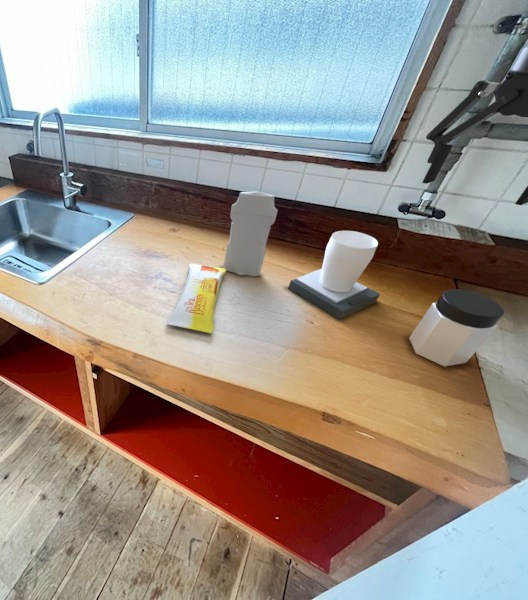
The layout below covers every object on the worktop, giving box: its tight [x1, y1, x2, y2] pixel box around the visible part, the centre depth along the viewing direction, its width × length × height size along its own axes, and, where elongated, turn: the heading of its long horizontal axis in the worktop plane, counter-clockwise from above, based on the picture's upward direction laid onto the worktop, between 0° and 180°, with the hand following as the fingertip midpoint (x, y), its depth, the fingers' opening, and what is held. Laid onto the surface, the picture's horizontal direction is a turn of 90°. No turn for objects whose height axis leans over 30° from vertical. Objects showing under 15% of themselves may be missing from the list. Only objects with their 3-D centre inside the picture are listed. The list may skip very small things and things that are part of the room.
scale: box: [288, 268, 381, 320], centre depth 78 cm, size 14×13×3 cm
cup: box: [320, 230, 379, 292], centre depth 73 cm, size 9×9×12 cm
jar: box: [408, 288, 505, 367], centre depth 59 cm, size 9×8×12 cm
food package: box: [166, 263, 227, 334], centre depth 79 cm, size 27×2×10 cm
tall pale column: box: [222, 191, 279, 277], centre depth 82 cm, size 11×4×22 cm, turn 66°
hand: (470, 191), depth 58 cm, fingers open, 13 cm apart
